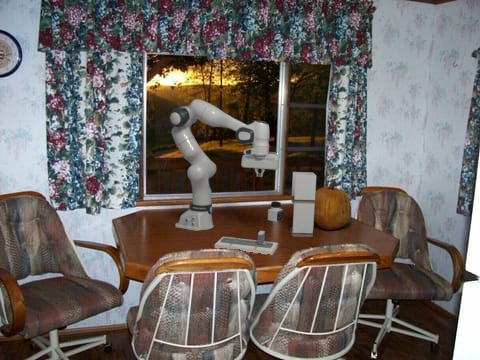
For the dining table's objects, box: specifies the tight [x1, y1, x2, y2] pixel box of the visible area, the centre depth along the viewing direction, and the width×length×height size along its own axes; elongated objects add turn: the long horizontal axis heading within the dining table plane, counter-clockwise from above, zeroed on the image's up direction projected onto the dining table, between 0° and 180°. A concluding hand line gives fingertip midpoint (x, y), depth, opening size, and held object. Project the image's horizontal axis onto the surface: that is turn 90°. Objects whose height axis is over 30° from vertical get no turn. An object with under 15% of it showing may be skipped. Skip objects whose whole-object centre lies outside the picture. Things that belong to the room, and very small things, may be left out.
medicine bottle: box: [267, 200, 284, 223], centre depth 286 cm, size 7×7×12 cm
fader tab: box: [257, 230, 266, 245], centre depth 229 cm, size 4×5×7 cm
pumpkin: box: [314, 178, 352, 231], centre depth 271 cm, size 26×23×30 cm
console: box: [214, 236, 279, 256], centre depth 231 cm, size 30×14×3 cm, turn 74°
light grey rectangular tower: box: [289, 171, 317, 238], centre depth 256 cm, size 11×11×35 cm
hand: (259, 176), depth 244 cm, fingers closed
